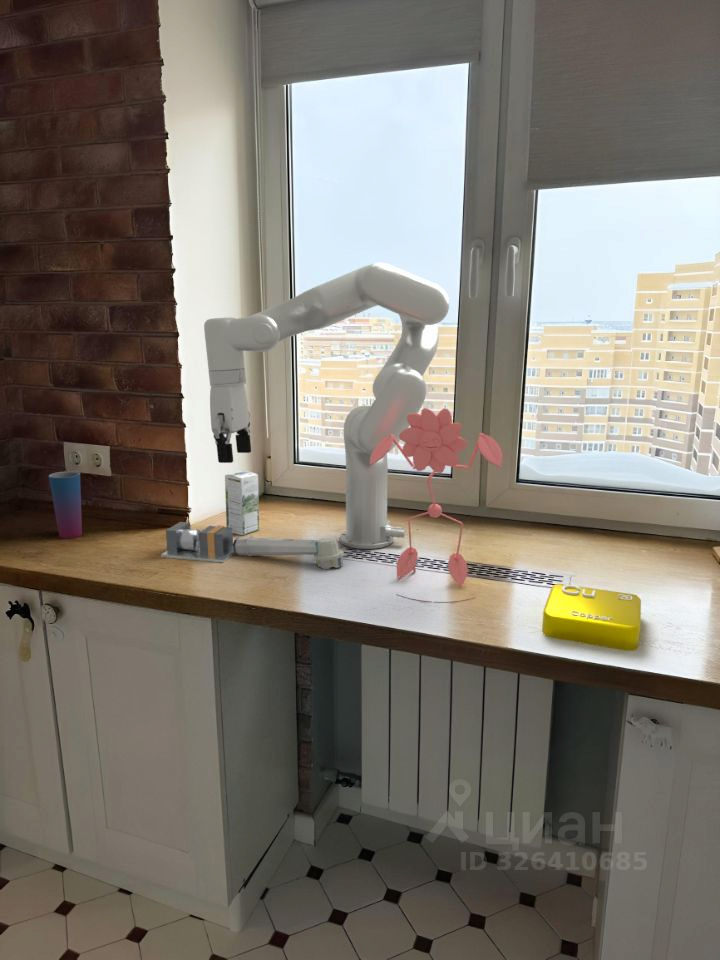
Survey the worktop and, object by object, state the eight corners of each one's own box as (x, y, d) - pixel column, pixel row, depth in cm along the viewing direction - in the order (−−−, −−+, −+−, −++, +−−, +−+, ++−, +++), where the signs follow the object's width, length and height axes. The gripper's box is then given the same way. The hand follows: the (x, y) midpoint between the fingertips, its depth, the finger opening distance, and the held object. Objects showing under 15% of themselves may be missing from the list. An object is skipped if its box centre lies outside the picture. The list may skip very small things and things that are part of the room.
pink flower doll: (376, 565, 143) (377, 400, 134) (499, 581, 134) (509, 406, 126) (351, 593, 129) (350, 411, 120) (487, 613, 121) (497, 419, 112)
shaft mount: (240, 549, 153) (239, 524, 151) (223, 562, 144) (222, 536, 143) (181, 544, 156) (179, 520, 155) (161, 557, 148) (159, 531, 146)
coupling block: (233, 548, 151) (232, 526, 150) (223, 556, 146) (222, 533, 145) (210, 546, 152) (209, 524, 151) (200, 554, 148) (198, 531, 146)
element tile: (540, 638, 112) (541, 611, 110) (551, 603, 125) (553, 579, 124) (637, 655, 106) (640, 627, 105) (638, 617, 119) (641, 591, 118)
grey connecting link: (241, 533, 152) (344, 531, 143) (246, 562, 153) (348, 561, 144) (229, 541, 147) (334, 538, 138) (234, 570, 148) (339, 569, 139)
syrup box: (243, 526, 170) (240, 469, 166) (260, 530, 166) (258, 473, 163) (226, 532, 165) (223, 474, 162) (243, 536, 162) (241, 477, 158)
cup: (91, 533, 164) (86, 473, 160) (66, 541, 158) (60, 479, 154) (74, 529, 167) (68, 470, 164) (49, 536, 162) (42, 475, 158)
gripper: (228, 374, 151) (235, 449, 156) (192, 383, 135) (201, 466, 139) (259, 373, 150) (266, 449, 154) (226, 382, 133) (235, 466, 137)
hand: (235, 457), depth 146 cm, fingers open, 9 cm apart
